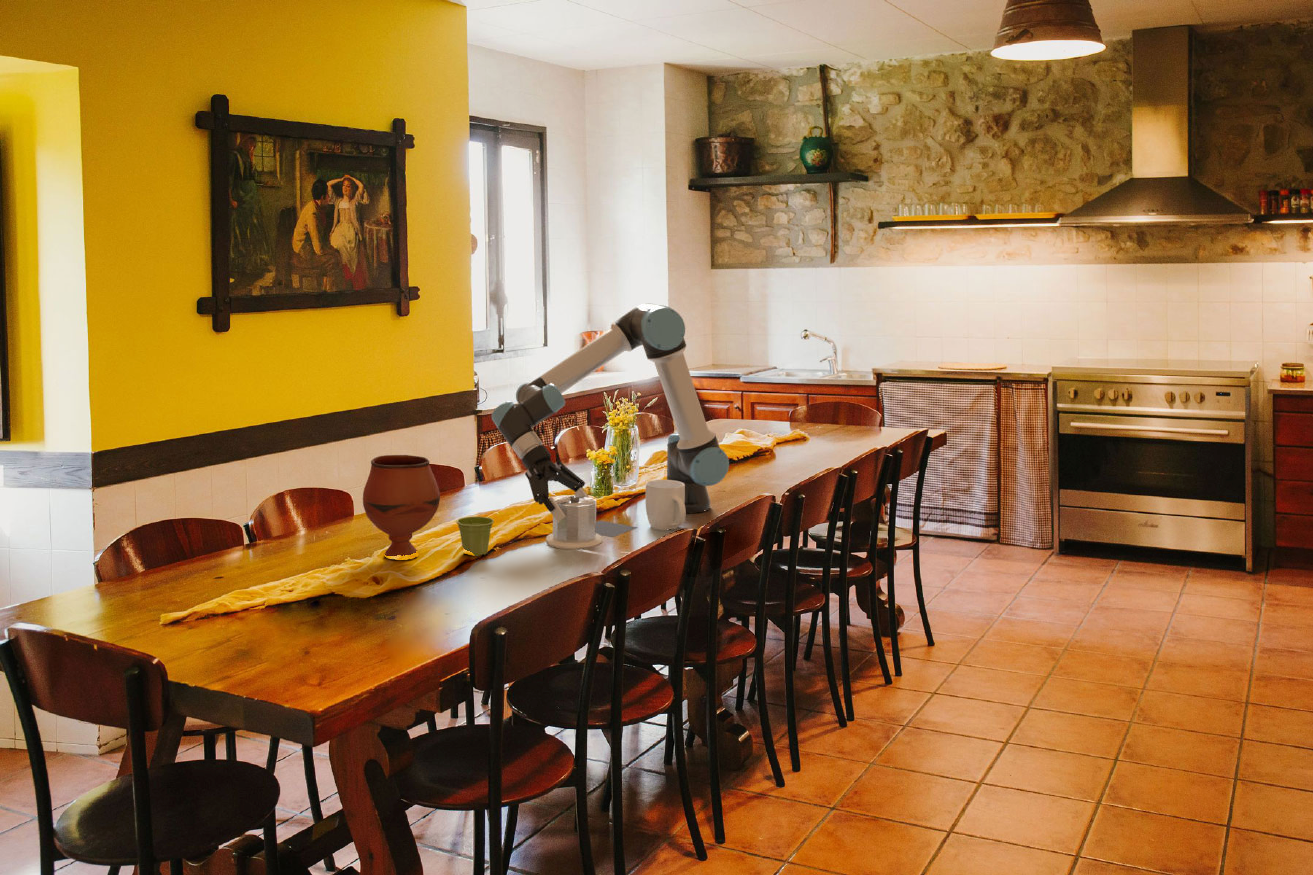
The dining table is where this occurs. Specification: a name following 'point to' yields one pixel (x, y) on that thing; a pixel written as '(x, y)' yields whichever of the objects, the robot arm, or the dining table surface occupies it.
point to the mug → (665, 504)
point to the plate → (572, 545)
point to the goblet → (400, 498)
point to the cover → (575, 520)
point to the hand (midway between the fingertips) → (577, 514)
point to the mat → (611, 528)
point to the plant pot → (475, 534)
